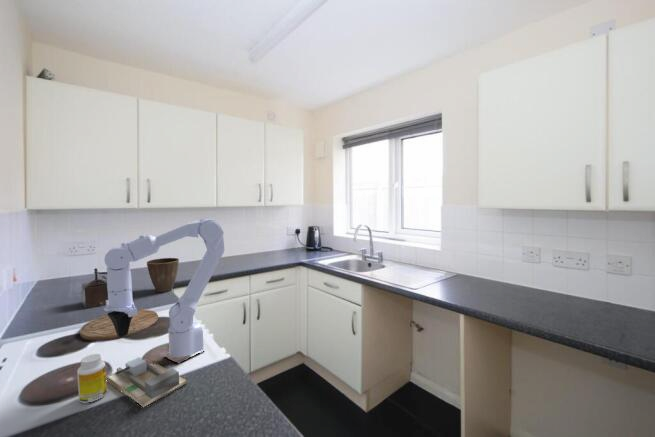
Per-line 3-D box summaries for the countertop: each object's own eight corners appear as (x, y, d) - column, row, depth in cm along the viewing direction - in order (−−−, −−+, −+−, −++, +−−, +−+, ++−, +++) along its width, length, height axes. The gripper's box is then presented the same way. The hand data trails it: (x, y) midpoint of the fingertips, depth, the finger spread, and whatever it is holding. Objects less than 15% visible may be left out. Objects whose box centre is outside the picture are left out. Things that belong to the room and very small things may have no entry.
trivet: (172, 317, 128) (172, 312, 128) (116, 345, 104) (116, 340, 104) (125, 311, 135) (124, 307, 135) (62, 337, 111) (62, 331, 111)
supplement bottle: (109, 396, 77) (107, 357, 77) (81, 408, 73) (78, 366, 72) (104, 387, 81) (101, 349, 80) (77, 397, 77) (74, 358, 76)
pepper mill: (86, 309, 137) (83, 269, 135) (82, 303, 144) (79, 265, 143) (126, 300, 148) (124, 263, 146) (121, 295, 155) (119, 260, 154)
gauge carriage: (139, 367, 88) (139, 357, 88) (146, 371, 86) (146, 361, 86) (112, 379, 83) (112, 368, 82) (119, 384, 80) (119, 373, 80)
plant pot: (145, 290, 164) (143, 260, 162) (175, 284, 174) (173, 256, 172) (152, 297, 153) (150, 265, 151) (183, 290, 163) (182, 260, 161)
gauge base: (148, 362, 93) (147, 348, 93) (186, 384, 82) (185, 368, 82) (106, 380, 84) (105, 365, 84) (143, 408, 73) (142, 390, 73)
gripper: (92, 288, 88) (95, 334, 89) (115, 297, 80) (118, 347, 82) (120, 282, 94) (122, 325, 95) (144, 290, 86) (146, 337, 87)
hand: (122, 335), depth 89 cm, fingers closed
